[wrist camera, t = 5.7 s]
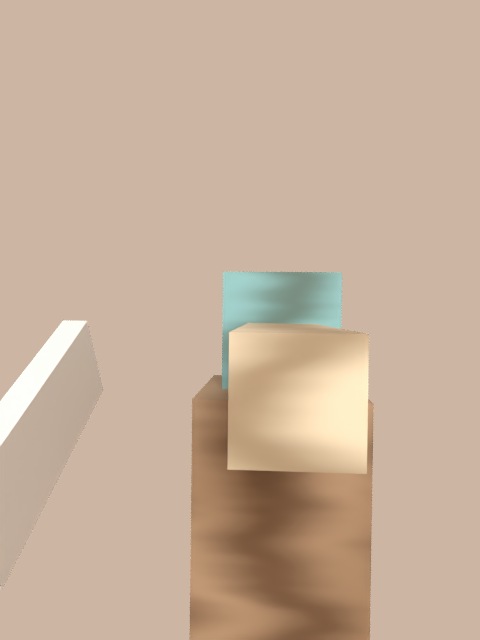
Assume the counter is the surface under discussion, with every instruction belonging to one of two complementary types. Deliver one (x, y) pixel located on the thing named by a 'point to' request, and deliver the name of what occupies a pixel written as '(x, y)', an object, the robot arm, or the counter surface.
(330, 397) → the mallet
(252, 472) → the stand
